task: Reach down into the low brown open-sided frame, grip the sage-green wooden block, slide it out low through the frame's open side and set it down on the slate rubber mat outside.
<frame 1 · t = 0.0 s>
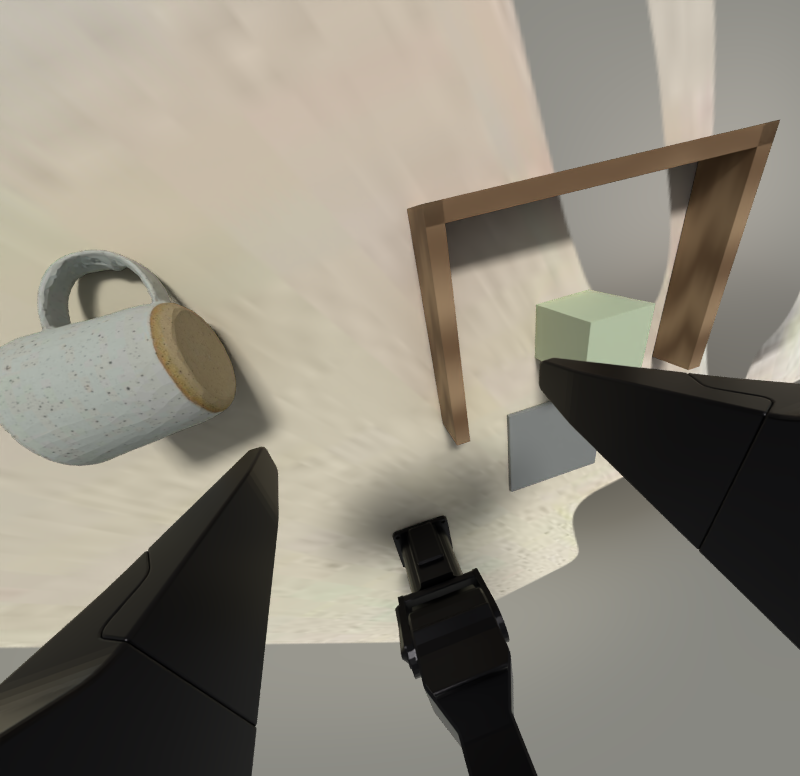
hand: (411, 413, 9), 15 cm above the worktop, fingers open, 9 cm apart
slate mat: (553, 440, 33), on the worktop
ceramic mug: (152, 338, 20), on the worktop
sage block: (560, 324, 27), on the worktop
brown open-sided frame: (563, 297, 25), on the worktop
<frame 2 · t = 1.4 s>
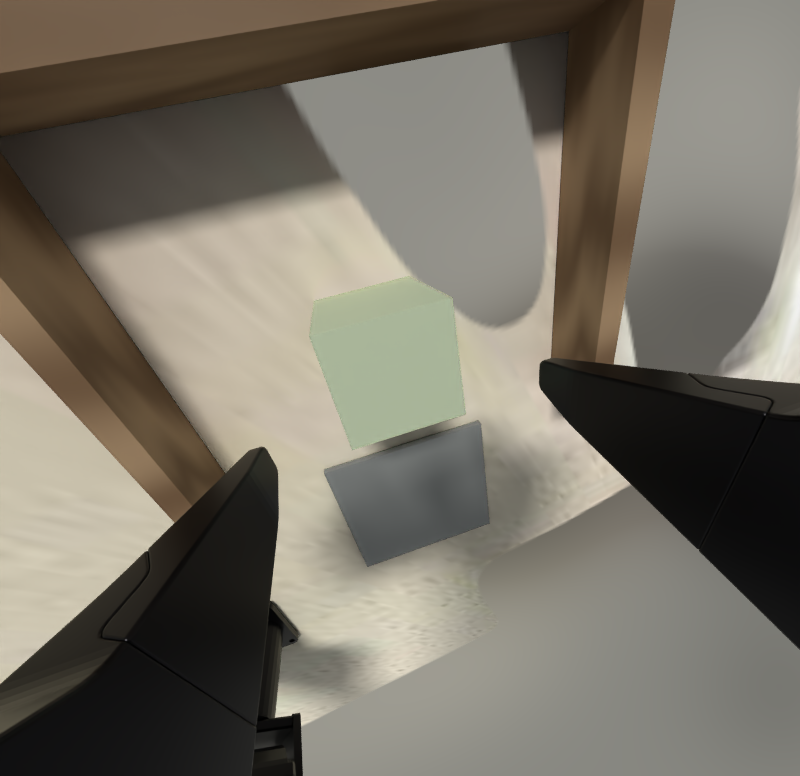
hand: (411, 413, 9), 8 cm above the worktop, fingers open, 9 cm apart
slate mat: (417, 498, 23), on the worktop
sage block: (374, 333, 16), on the worktop
brown open-sided frame: (362, 288, 15), on the worktop
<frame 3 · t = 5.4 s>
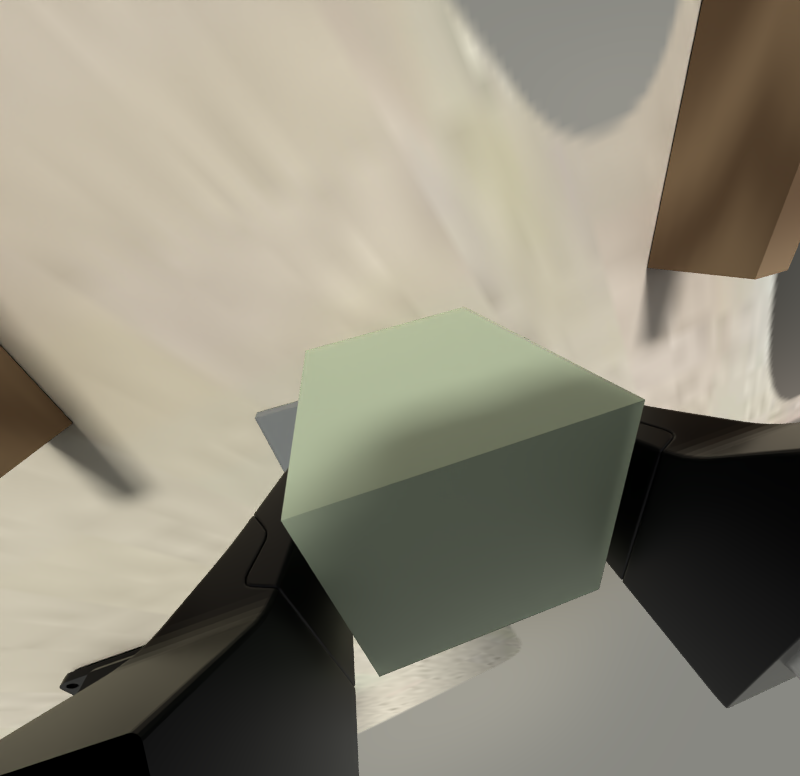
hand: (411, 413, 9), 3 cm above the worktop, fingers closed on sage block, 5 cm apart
slate mat: (419, 471, 14), on the worktop
sage block: (403, 397, 10), point 2 cm above the worktop, touching gripper
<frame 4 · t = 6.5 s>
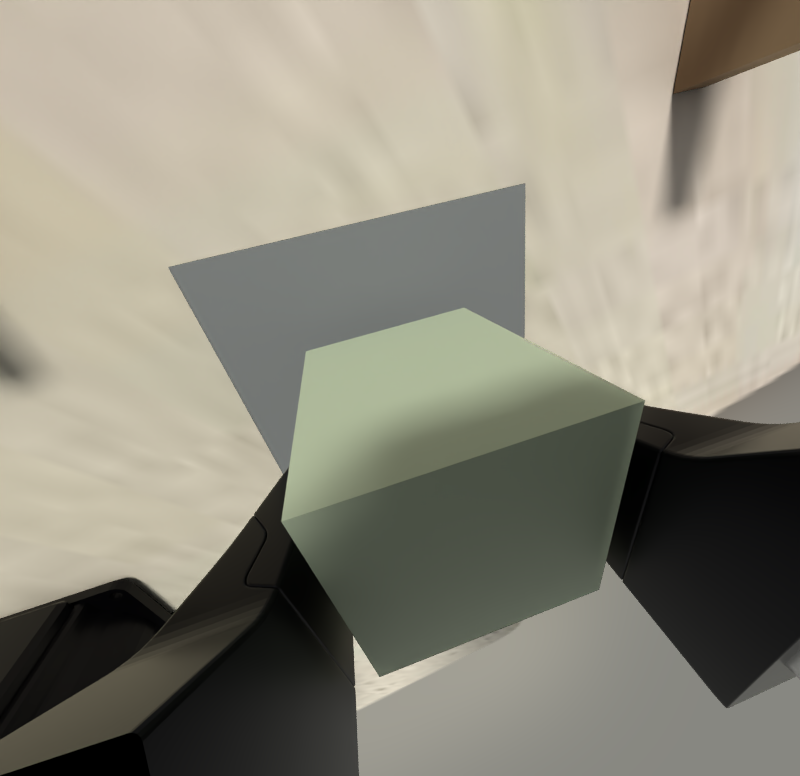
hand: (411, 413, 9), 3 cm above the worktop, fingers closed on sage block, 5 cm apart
slate mat: (393, 376, 12), on the worktop
sage block: (403, 397, 10), point 2 cm above the worktop, touching gripper
when the fingers open (2 cm above the worktop, at t = 7.6 s): sage block drops 1 cm, resting on slate mat.
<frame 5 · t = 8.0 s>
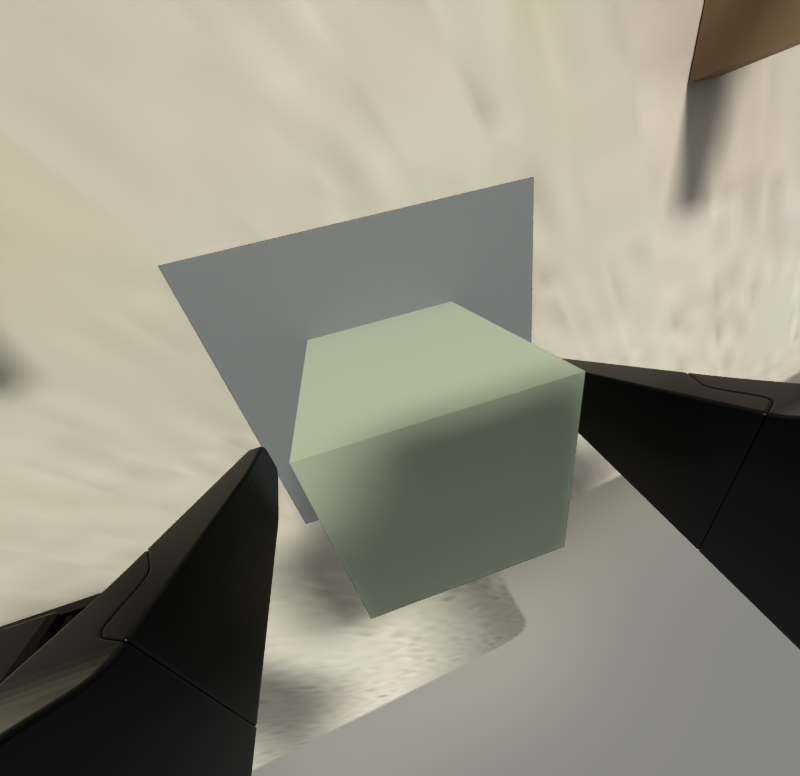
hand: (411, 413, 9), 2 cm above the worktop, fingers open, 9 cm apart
slate mat: (395, 379, 11), on the worktop
sage block: (396, 384, 11), resting on slate mat
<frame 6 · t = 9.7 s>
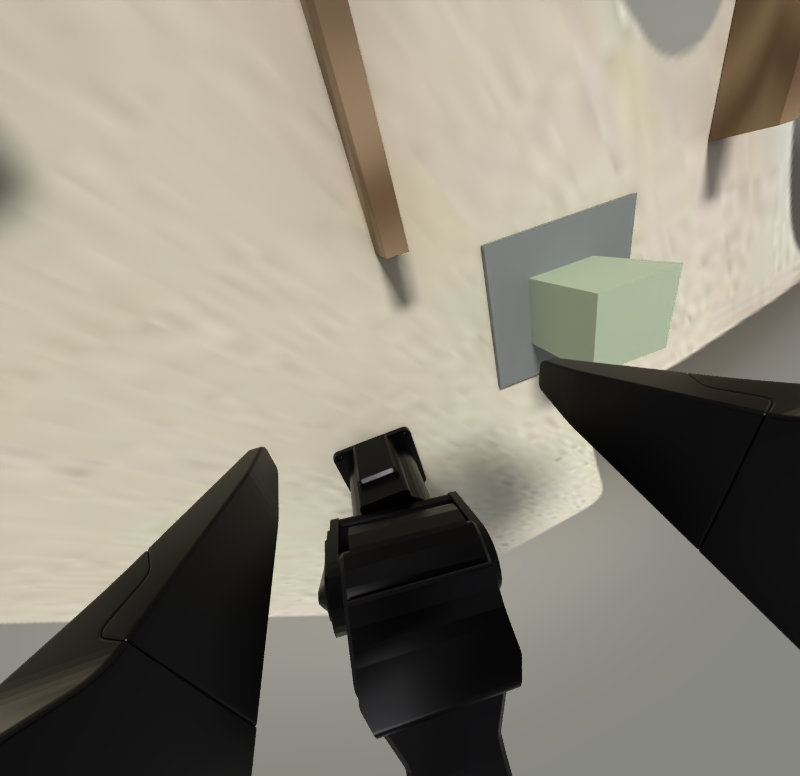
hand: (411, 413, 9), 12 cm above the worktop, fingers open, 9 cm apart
slate mat: (558, 300, 22), on the worktop
sage block: (561, 301, 22), resting on slate mat
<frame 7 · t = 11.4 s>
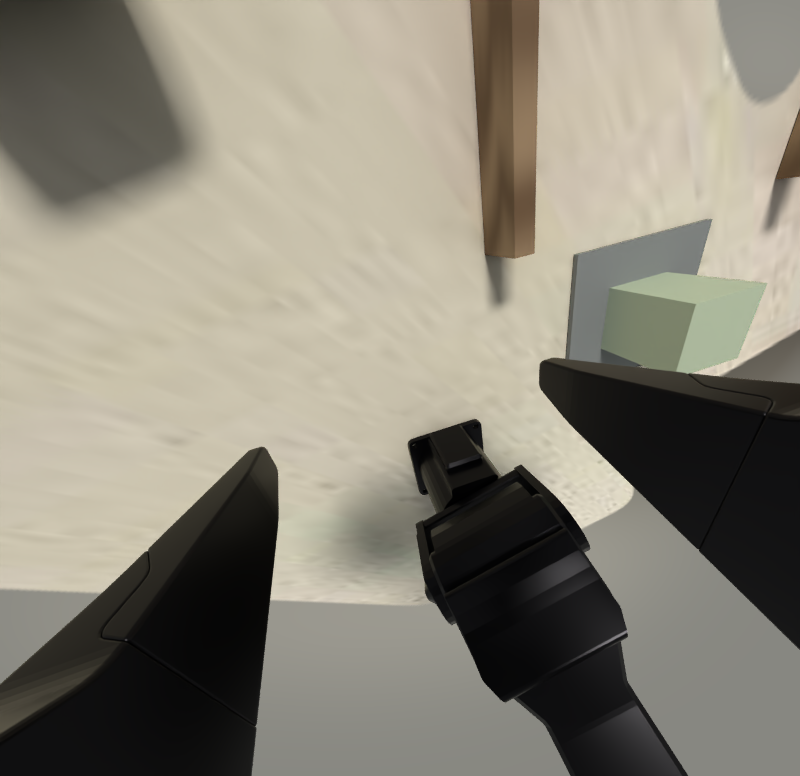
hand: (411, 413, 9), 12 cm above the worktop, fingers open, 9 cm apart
slate mat: (628, 310, 24), on the worktop
sage block: (632, 311, 24), resting on slate mat
brown open-sided frame: (679, 27, 16), on the worktop
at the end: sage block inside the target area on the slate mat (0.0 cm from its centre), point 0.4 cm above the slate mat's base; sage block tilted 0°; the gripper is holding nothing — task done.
